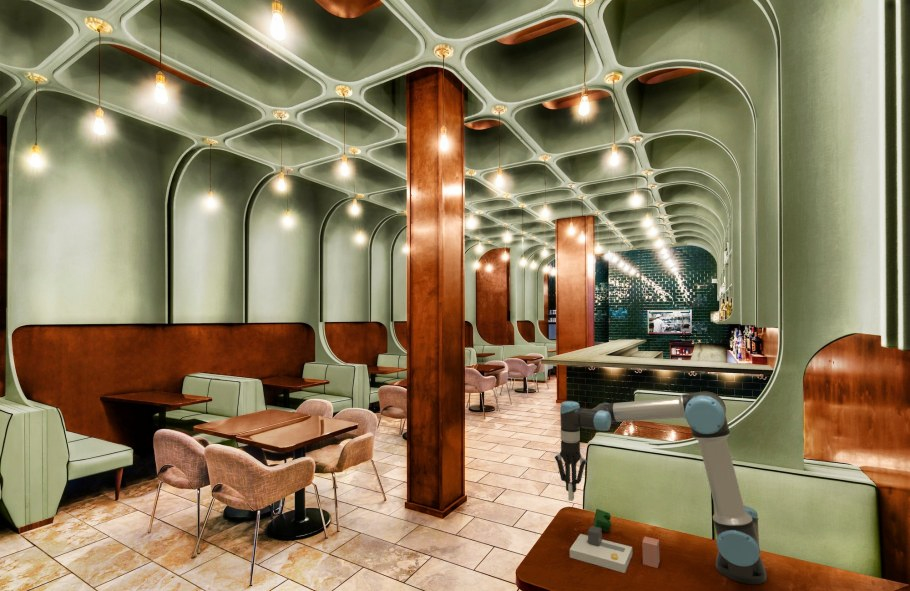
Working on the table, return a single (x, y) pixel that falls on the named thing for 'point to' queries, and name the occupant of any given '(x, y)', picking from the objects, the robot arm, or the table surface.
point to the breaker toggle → (595, 535)
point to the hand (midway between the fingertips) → (571, 499)
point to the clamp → (602, 520)
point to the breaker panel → (602, 553)
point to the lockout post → (651, 552)
